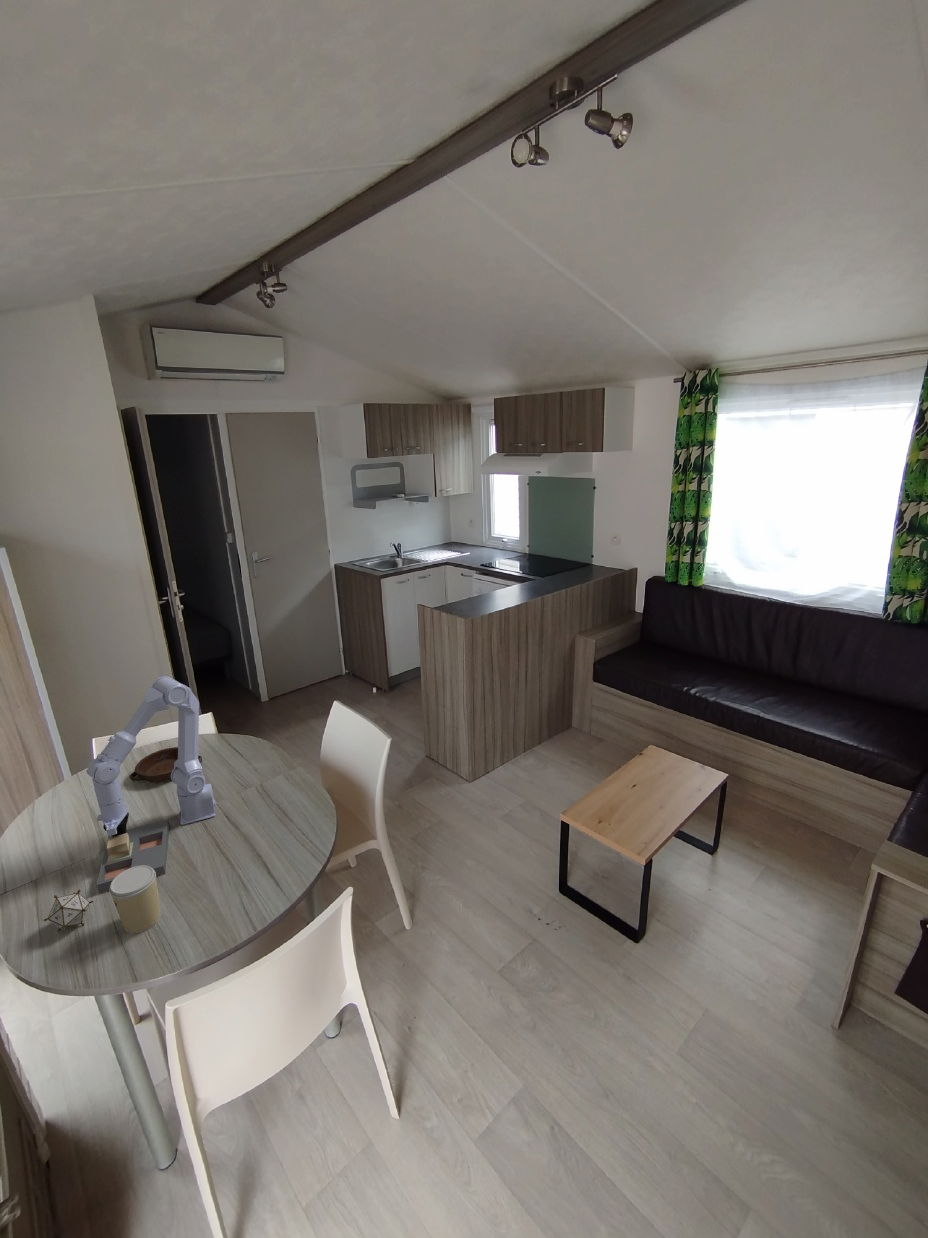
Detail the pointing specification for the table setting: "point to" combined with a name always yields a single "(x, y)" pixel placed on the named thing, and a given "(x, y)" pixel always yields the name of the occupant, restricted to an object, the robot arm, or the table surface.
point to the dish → (157, 766)
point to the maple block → (118, 846)
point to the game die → (68, 910)
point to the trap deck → (138, 853)
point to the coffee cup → (136, 898)
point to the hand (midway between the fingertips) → (121, 841)
